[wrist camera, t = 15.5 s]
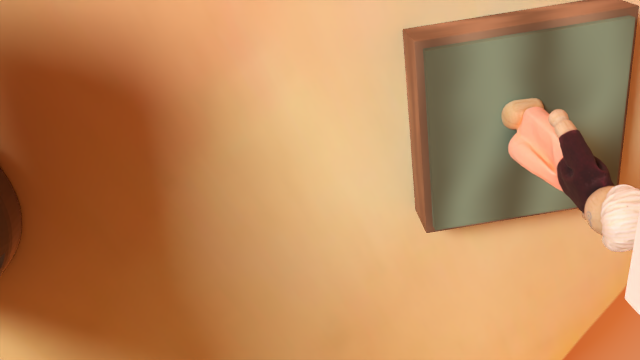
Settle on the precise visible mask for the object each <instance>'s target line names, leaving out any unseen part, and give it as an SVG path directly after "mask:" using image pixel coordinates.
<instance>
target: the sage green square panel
mask: <svg viewBox="0 0 640 360" xmlns="http://www.w3.org/2000/svg"><path fill="white" fill-rule="evenodd" d="M638 9H639V6H637V5H634V4H631V3H628V2H625V1H622V0H583V1H577V2H571V3H565V4H558V5H552V6H546V7H540V8H533V9H527V10H521V11H515V12H508V13H502V14H496V15H490V16H483V17H477V18H471V19H465V20H458V21H452V22H446V23H440V24H433V25H427V26H421V27H415V28H408V29H403V40H404V54H405V68H406V82H407V96H408V110H409V124H410V139H411V153H412V167H413V181H414V195H415V209H416V212H417V214H418V216H419V218H420V220H421V222H422V224H423V227H424V229H425V231H426V233H430V232H436V231H442V230H448V229H454V228H460V227H466V226H472V225H478V224H484V223H490V222H497V221H503V220H509V219H515V218H521V217H527V216H533V215H539V214H545V213H551V212H557V211H563V210H569V209H575V208H578V207H577V206H576V205H575V203H574V202H573V201H572V200H571V199H570V198H569V197H568V196H567V195H566V194H565V193H564V192H563V191H560V190H558V189H557V188H555V187H553V186H552V185H550V184H549V183H547V182H546V181H545V180H543V179H541V178H540V177H538V176H536V175H534V174H533V173H531V172H530V171H528V170H527V169H525V168H524V167H522V166H521V165H520V164H519V163H517V162H516V161H515V160H514V159H513V158H512V157H511V156H510V154H509V152H508V146H509V142H510V140H511V139H512V137H513V136H514V135H515V134H516V133H517V130H516V129H515V130H514V129H509V128H507V127H506V126H505V125H504V124H503V122H502V117H501V113H502V110H503V108H504V107H505V105H506V104H508V103H509V102H511V101H514V100H521V99H529V98H537V99H540V100H541V101H542V103H543V106H544V110H545V111H546V112H548V113H549V114H550V113H551V112H552V111H554V110H556V109H562V110H564V111H565V112H566V113H567V114H568V117H569V120H570V121H572V123H573V124H574V125H575V127H576V129H577V130H579V131H580V133H581V134H582V136H583V138H584V140H585V142H586V143H587V145H588V146H589V148H590V149H591V151H592V153H593V155H594V156H595V157H597V158H599V159H600V160H601V161H602V162H603V163H604V164H605V165H606V166H607V168H608V170H609V173H610V176H611V180H612V182H613V184H614V185H615V186H617V185H618V184H619V175H620V166H621V157H622V149H623V140H624V131H625V122H626V114H627V105H628V96H629V88H630V79H631V70H632V61H633V53H634V44H635V35H636V26H637V18H638Z"/></svg>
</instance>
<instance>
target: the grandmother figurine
mask: <svg viewBox="0 0 640 360" xmlns="http://www.w3.org/2000/svg"><path fill="white" fill-rule="evenodd" d="M501 117H502V122H503V124H504V125H505V126H506V127H507V128H509V129H514V130H515V129H516V130H517V133H516V134H515V135H514V136H513V137H512V139H511V140H510V142H509V146H508V152H509V154H510V156H511V157H512V158H513V159H514V160H515V161H516V162H517V163H519V164H520V165H521V166H522V167H524V168H525V169H527V170H528V171H530V172H531V173H533V174H534V175H536V176H538V177H540V178H541V179H543V180H545V181H546V182H547V183H549V184H550V185H552V186H553V187H555V188H557V189H558V190H560V191H563V192H564V193H565V194H566V195H567V196H568V197H569V198H570V199H571V200H572V201H573V202H574V203H575V205H576V206H577V207H578V208H579V209H580V210H581V211H582V216H583V218H584V219H585V220H586V221H587V222H588V224H589V226H590V227H591V228H592V229H593V230H594V231H596V232H597V233H599V234H601V235H603V237H602V242H603V244H604V246H605V247H607V248H608V249H609V250H611V251H615V252H624V251H629V250H633V246H634V241H635V235H636V229H637V223H638V217H639V211H640V189H637V188H634V187H632V186H630V185H627V184H623V185H617V186H615V185H614V184H613V182H612V180H611V176H610V173H609V170H608V168H607V166H606V165H605V164H604V163H603V162H602V161H601V160H600V159H599V158H597V157H595V156H594V155H593V153H592V151H591V149H590V148H589V146H588V145H587V143H586V142H585V140H584V138H583V136H582V134H581V133H580V131H579V130H577V129H576V127H575V125H574V124H573V123H572V121H570V120H569V117H568V114H567V113H566V112H565V111H564V110H562V109H556V110H554V111H552V112H551V113H550V114H549V113H548V112H546V111H545V110H544V106H543V103H542V101H541V100H540V99H537V98H529V99H521V100H514V101H511V102H509V103H508V104H506V105H505V107H504V108H503V110H502V113H501Z"/></svg>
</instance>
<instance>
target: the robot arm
mask: <svg viewBox="0 0 640 360" xmlns="http://www.w3.org/2000/svg"><path fill="white" fill-rule="evenodd" d="M21 230H22V218H21V211H20V206H19V203H18V199H17V197H16V194H15V192H14V189H13V187H12V185H11V184H10V182H9V180H8V178H7V177H6V175H5V174H4V172H3V171H2V170H1V168H0V276H1V274H2V273H3V271H4V270H5V268H6V267H7V265H8V264H9V262H10V261H11V259H12V258H13V256H14V254H15V252H16V250H17V248H18V245H19V241H20V237H21ZM625 299H626V301H627V302H628V303H629V304H630V305H631V306H632V307H633V308H634V309H635V310H636V311H637V313H638V314H639V315H640V211H639V217H638V223H637V229H636V235H635V241H634V246H633V252H632V258H631V264H630V270H629V276H628V282H627V287H626V294H625Z"/></svg>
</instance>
